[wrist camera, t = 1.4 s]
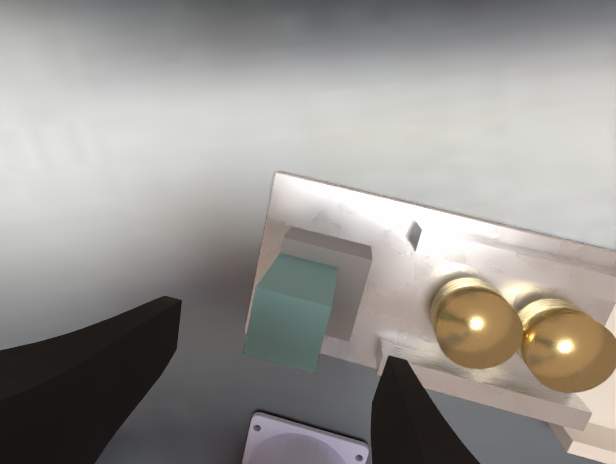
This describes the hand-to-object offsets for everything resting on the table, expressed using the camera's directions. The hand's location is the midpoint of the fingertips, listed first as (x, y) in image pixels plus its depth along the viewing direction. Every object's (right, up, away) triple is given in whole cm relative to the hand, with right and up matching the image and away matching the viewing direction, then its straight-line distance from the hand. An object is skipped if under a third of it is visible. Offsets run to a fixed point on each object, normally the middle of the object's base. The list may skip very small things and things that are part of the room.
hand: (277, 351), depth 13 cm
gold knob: (+10, 0, +8) cm, 13 cm away
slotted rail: (+8, 0, +9) cm, 12 cm away
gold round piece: (+14, -1, +8) cm, 16 cm away
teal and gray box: (+1, +2, +9) cm, 9 cm away
